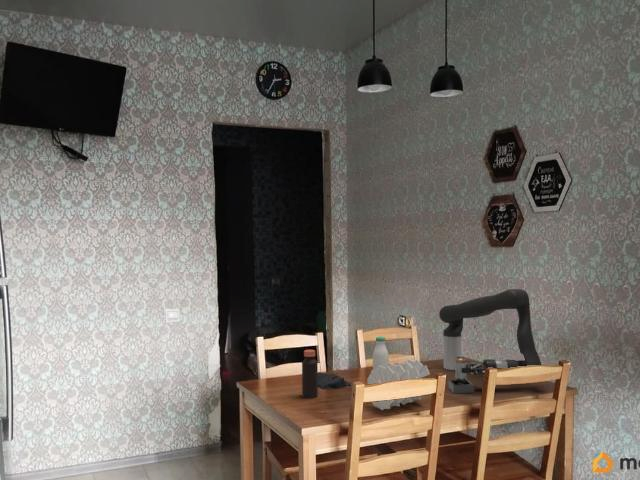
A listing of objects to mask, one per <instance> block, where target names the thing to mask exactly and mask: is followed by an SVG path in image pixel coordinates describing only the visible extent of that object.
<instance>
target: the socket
mask: <svg viewBox="0 0 640 480" xmlns="http://www.w3.org/2000/svg"><path fill="white" fill-rule="evenodd" d="M474 387H475V385H474V384H473V383H472V382H471V381H470V380H468V379H467V384H464V385H456V379H449V380H448V389H449V390H450V391H451V392H452V393H453V394H474V393H475V388H474Z"/></svg>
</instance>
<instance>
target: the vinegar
mask: <svg viewBox="0 0 640 480" xmlns="http://www.w3.org/2000/svg"><path fill="white" fill-rule="evenodd" d="M303 356H304V359H303V361H302V362H301V381H302V382H301V383H302V384H301V385H302V386H301V391H302V392H301V393H302V394H301V396H302V397H303V398H304V399H315V398H317V397H318V395H319V387H318V373H319V372H318V368H319V367H318V361H317V360H316V359H315V357H316V350H314V349H305V350H304V351H303Z"/></svg>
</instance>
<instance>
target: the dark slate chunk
mask: <svg viewBox="0 0 640 480" xmlns="http://www.w3.org/2000/svg"><path fill="white" fill-rule="evenodd" d="M349 386H351V382H349V381H347V380H345V379H344V377H341V376H338V375H337V374H334V373H326V372H321V371H319V372H318V389H320V390H333V389H342V388H345V387H349Z"/></svg>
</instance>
